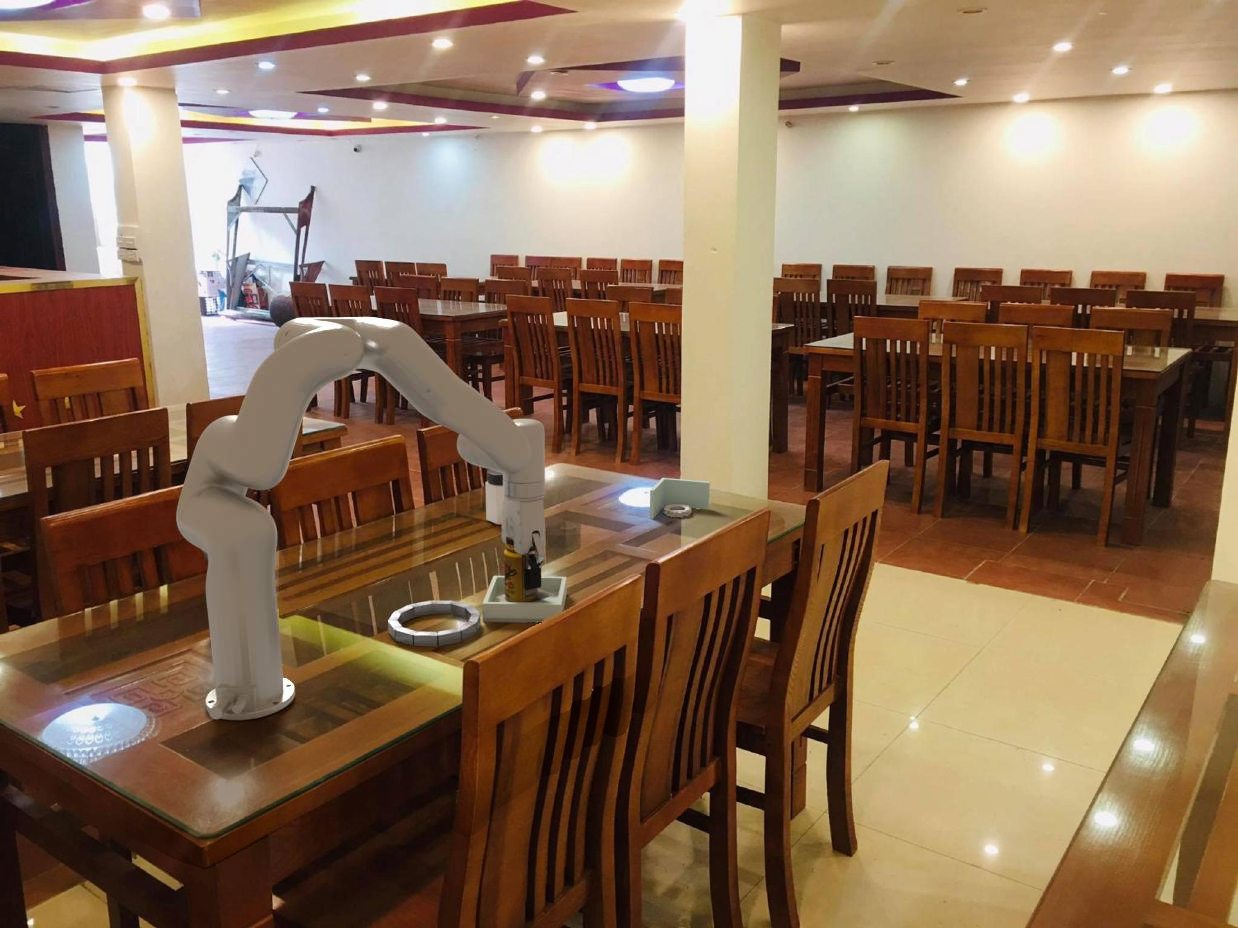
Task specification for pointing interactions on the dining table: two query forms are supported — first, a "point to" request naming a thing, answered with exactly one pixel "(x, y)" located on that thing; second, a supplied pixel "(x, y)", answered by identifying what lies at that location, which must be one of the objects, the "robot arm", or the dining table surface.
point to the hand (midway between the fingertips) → (525, 581)
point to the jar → (494, 496)
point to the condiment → (518, 578)
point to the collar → (434, 637)
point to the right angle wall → (678, 497)
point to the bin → (524, 611)
